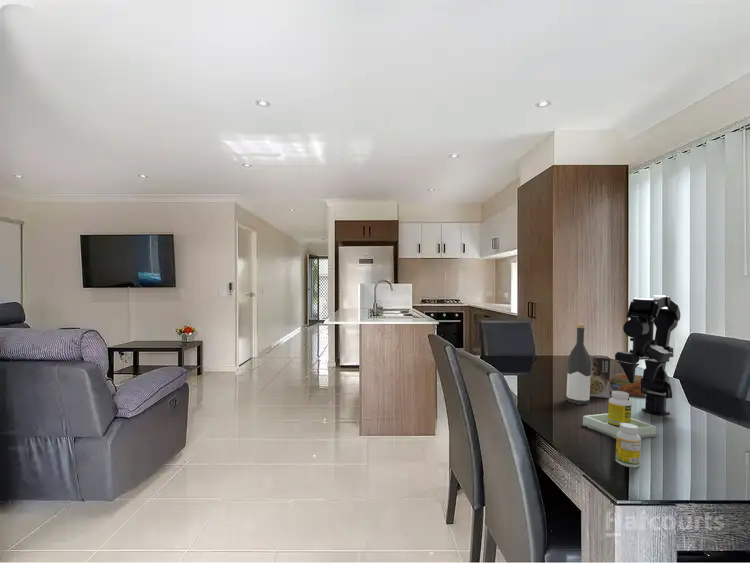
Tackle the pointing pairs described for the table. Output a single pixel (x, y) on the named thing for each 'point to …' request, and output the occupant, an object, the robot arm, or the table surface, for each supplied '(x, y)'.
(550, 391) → the table surface
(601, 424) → the tray
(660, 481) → the table surface
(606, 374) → the coffee box
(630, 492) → the table surface
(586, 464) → the table surface
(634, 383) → the tin
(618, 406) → the pill bottle
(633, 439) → the supplement bottle
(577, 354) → the wine bottle
